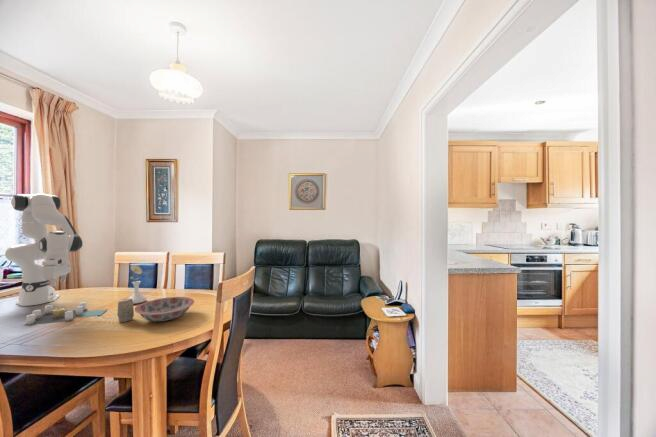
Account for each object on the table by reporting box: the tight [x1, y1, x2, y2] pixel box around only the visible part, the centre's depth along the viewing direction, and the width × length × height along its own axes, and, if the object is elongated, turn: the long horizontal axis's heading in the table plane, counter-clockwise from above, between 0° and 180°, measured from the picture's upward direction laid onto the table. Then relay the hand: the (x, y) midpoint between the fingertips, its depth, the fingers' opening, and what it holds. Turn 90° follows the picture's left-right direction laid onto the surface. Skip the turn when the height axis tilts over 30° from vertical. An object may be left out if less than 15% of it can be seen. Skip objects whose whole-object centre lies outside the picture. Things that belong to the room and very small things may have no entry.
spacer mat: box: [23, 301, 89, 327], centre depth 158 cm, size 20×22×5 cm
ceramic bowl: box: [134, 296, 195, 322], centre depth 158 cm, size 29×29×8 cm
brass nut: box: [52, 307, 65, 318], centre depth 158 cm, size 5×5×4 cm
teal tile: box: [78, 309, 108, 318], centre depth 163 cm, size 10×10×1 cm
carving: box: [116, 297, 135, 323], centre depth 154 cm, size 6×8×12 cm
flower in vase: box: [128, 264, 147, 305], centre depth 185 cm, size 13×11×25 cm
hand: (58, 284), depth 157 cm, fingers open, 8 cm apart
